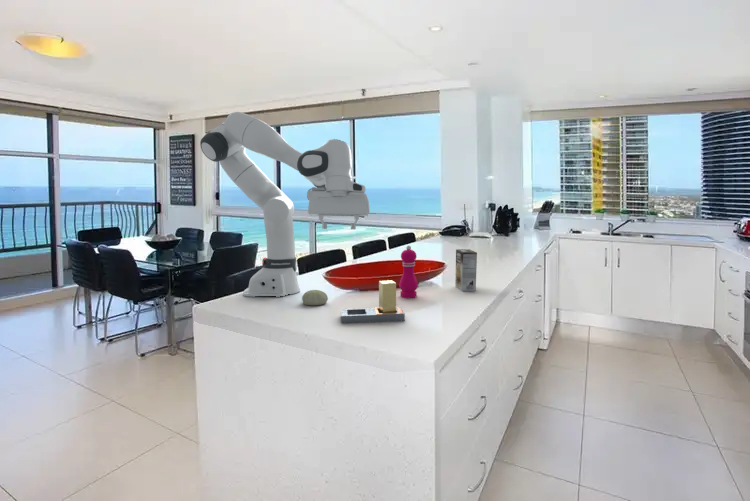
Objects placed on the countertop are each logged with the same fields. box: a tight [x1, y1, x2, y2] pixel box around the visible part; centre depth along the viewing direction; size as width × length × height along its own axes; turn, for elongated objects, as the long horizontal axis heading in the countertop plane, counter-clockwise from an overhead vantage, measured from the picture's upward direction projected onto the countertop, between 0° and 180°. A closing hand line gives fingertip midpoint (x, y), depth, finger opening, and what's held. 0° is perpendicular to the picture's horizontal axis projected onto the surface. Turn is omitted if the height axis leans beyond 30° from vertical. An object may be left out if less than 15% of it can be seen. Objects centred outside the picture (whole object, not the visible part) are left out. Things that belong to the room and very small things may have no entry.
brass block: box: [378, 279, 397, 313], centre depth 140 cm, size 4×4×12 cm
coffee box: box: [455, 248, 478, 292], centre depth 181 cm, size 9×6×16 cm
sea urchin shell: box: [301, 289, 329, 306], centre depth 160 cm, size 9×8×8 cm
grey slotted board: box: [340, 306, 406, 324], centre depth 141 cm, size 20×8×3 cm, turn 96°
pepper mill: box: [398, 245, 419, 299], centre depth 169 cm, size 7×7×20 cm
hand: (339, 229), depth 143 cm, fingers open, 8 cm apart
